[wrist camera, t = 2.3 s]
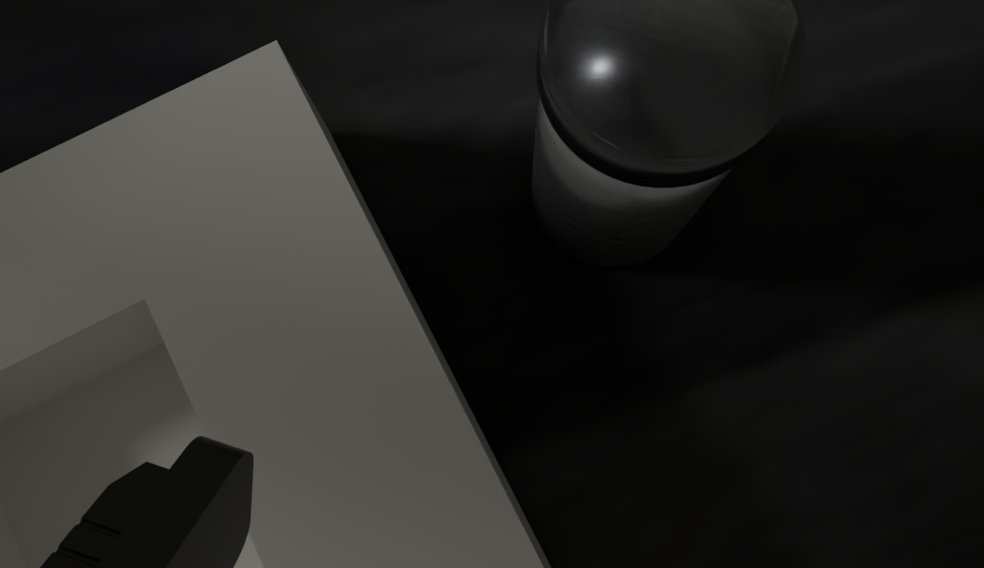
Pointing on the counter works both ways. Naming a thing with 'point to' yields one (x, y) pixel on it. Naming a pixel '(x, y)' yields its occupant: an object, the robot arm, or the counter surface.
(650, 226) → the lens
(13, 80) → the counter surface
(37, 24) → the counter surface
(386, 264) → the grey block with recess
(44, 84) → the counter surface
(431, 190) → the counter surface
